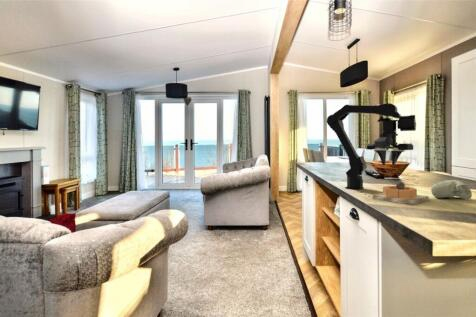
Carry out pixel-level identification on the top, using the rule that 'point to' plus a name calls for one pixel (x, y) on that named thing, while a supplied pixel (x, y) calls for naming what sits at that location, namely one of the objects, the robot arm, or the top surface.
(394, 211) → the top surface
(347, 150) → the robot arm
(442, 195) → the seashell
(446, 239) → the top surface
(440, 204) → the top surface
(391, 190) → the orange ring
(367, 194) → the top surface
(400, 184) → the hook stand
